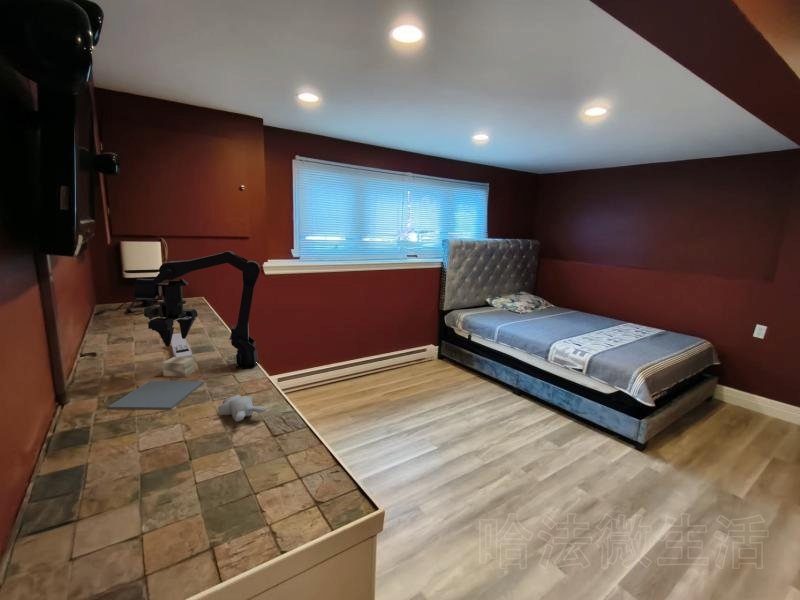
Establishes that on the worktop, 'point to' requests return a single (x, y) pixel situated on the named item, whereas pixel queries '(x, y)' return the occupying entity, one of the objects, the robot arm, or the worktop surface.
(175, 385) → the rubber mat
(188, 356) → the mobile phone
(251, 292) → the robot arm
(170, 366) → the card box
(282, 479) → the worktop surface
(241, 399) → the bunny figurine
